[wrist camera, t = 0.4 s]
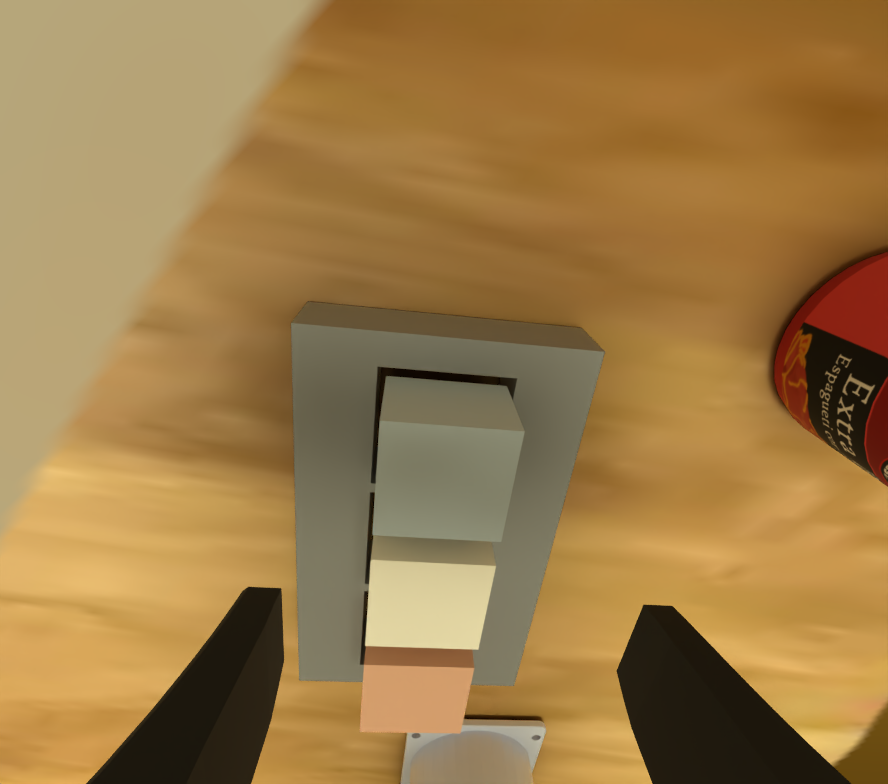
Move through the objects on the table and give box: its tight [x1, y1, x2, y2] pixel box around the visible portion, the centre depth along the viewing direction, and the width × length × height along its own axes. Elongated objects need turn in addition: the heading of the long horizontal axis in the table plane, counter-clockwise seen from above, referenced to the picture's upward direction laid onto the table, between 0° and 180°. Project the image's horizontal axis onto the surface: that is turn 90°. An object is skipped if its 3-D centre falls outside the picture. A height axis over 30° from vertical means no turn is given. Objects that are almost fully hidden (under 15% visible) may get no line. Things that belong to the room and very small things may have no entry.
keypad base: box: [291, 301, 605, 686], centre depth 20 cm, size 17×10×2 cm, turn 173°
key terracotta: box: [360, 646, 474, 734], centre depth 20 cm, size 4×4×3 cm
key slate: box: [372, 376, 525, 542], centre depth 15 cm, size 4×4×3 cm
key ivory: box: [365, 535, 496, 650], centre depth 18 cm, size 4×4×3 cm
